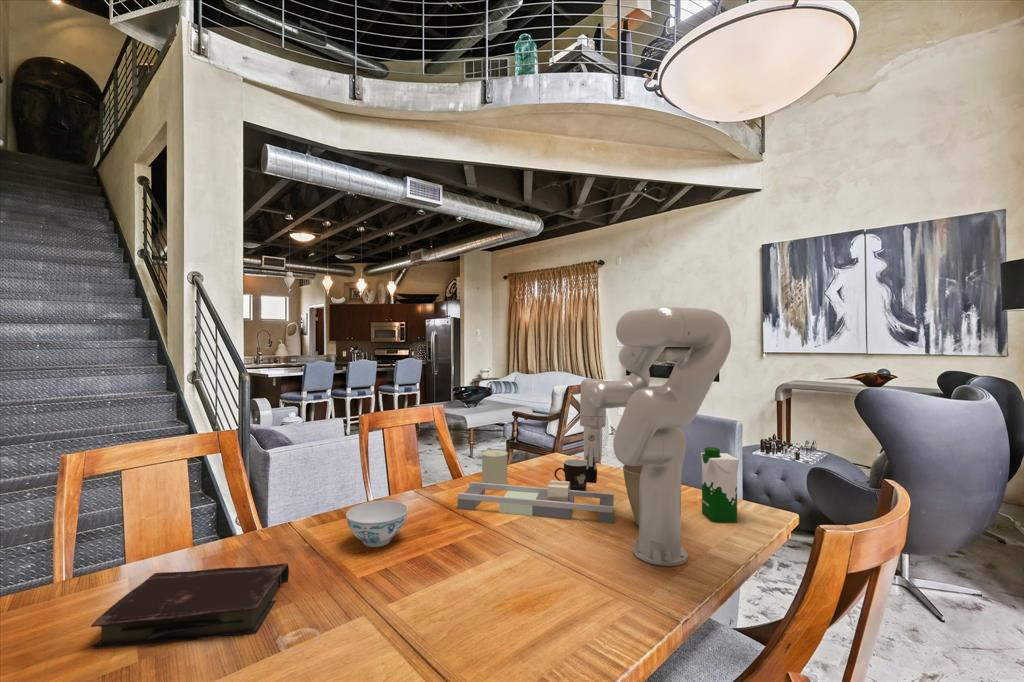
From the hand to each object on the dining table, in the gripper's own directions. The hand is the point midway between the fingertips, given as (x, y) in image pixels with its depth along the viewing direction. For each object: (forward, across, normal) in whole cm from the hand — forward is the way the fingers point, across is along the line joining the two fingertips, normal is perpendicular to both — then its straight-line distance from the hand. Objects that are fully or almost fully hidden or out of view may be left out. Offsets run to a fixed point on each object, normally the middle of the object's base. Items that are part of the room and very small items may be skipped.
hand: (591, 481), depth 134 cm
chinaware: (+10, -33, +51) cm, 62 cm away
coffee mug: (+10, +17, +7) cm, 21 cm away
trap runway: (+10, -1, +16) cm, 19 cm away
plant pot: (+9, -6, -17) cm, 20 cm away
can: (+10, +17, +34) cm, 40 cm away
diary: (+10, -68, +68) cm, 96 cm away
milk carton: (+9, +5, -37) cm, 38 cm away
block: (+6, -1, +9) cm, 11 cm away
